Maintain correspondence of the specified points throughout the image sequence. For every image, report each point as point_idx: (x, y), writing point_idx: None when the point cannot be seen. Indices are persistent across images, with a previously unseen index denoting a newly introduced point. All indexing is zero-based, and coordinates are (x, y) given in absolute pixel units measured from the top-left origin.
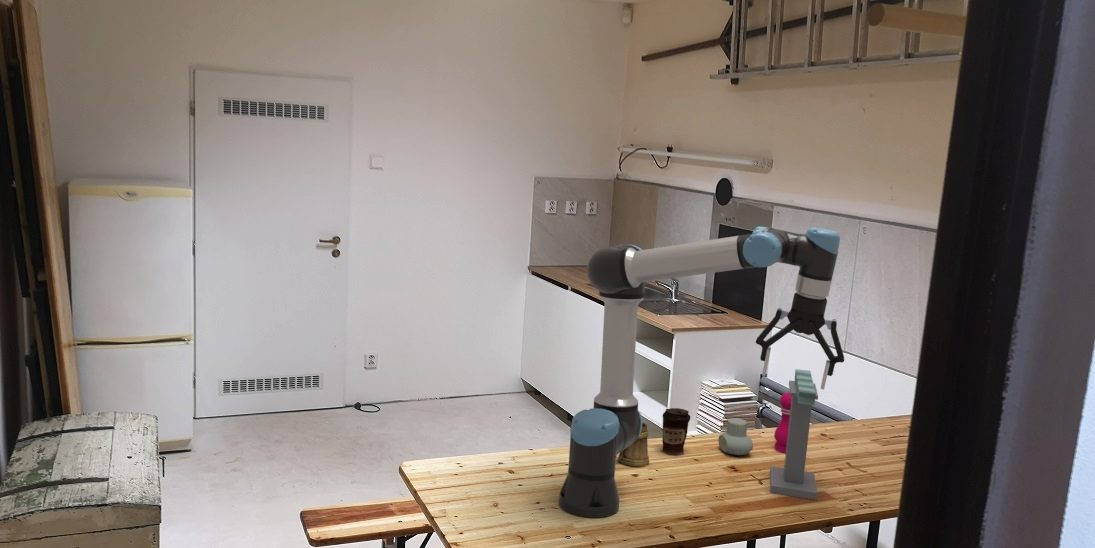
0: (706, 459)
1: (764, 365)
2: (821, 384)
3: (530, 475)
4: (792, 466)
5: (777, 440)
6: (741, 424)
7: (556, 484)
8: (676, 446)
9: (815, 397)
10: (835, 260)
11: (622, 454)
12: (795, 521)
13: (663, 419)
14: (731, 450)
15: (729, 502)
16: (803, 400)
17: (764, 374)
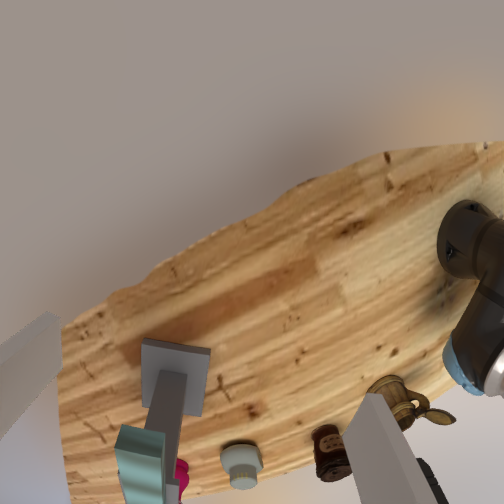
0: (284, 426)
1: (399, 433)
2: (51, 344)
3: None
4: (174, 388)
5: (185, 472)
6: (239, 478)
7: None
8: (327, 433)
9: None
10: None
11: (404, 386)
12: (186, 252)
13: None
14: (250, 446)
15: (282, 300)
16: (149, 437)
17: (373, 398)
